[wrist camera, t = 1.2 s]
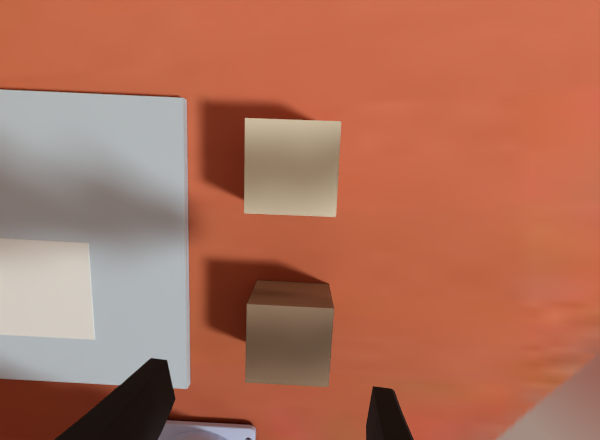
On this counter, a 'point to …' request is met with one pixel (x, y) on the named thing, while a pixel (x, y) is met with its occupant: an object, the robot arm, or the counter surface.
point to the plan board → (93, 236)
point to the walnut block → (289, 333)
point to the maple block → (291, 167)
